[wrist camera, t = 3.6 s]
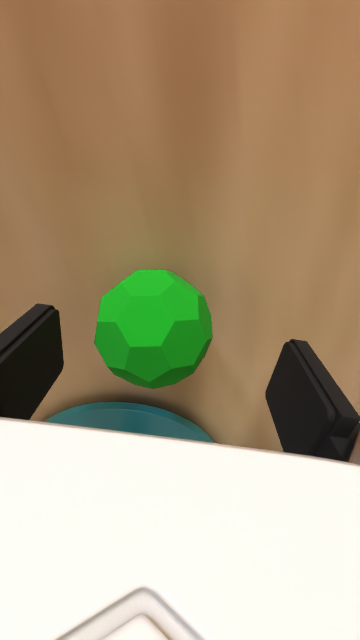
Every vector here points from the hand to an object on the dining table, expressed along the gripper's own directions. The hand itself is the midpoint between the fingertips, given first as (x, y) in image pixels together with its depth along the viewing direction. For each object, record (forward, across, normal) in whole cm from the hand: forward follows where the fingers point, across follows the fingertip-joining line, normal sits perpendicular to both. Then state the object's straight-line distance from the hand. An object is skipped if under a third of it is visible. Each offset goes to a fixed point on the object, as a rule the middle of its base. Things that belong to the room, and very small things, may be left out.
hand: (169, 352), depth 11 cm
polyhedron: (+3, +1, -1) cm, 4 cm away
